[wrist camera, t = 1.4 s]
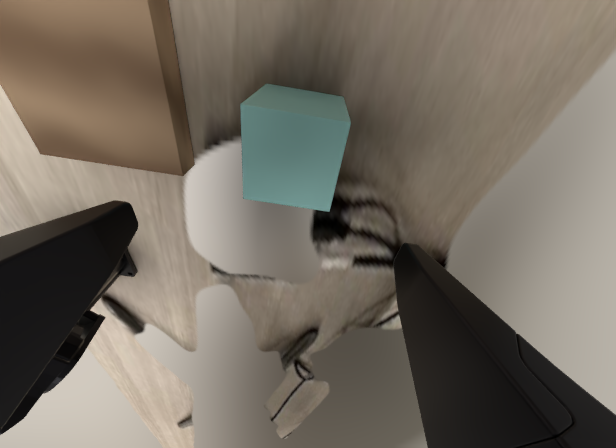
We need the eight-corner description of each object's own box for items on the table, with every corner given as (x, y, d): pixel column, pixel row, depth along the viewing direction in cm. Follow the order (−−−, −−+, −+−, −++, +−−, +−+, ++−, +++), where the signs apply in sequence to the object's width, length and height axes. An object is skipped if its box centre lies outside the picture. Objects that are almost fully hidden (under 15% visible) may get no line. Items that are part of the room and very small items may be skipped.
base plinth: (194, 164, 19) (182, 176, 17) (64, 144, 19) (40, 154, 17) (157, -65, 12) (131, -82, 10) (-61, -108, 11) (-124, -132, 10)
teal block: (328, 167, 19) (329, 211, 14) (264, 157, 18) (243, 198, 14) (343, 96, 16) (351, 122, 11) (266, 83, 15) (240, 104, 11)
